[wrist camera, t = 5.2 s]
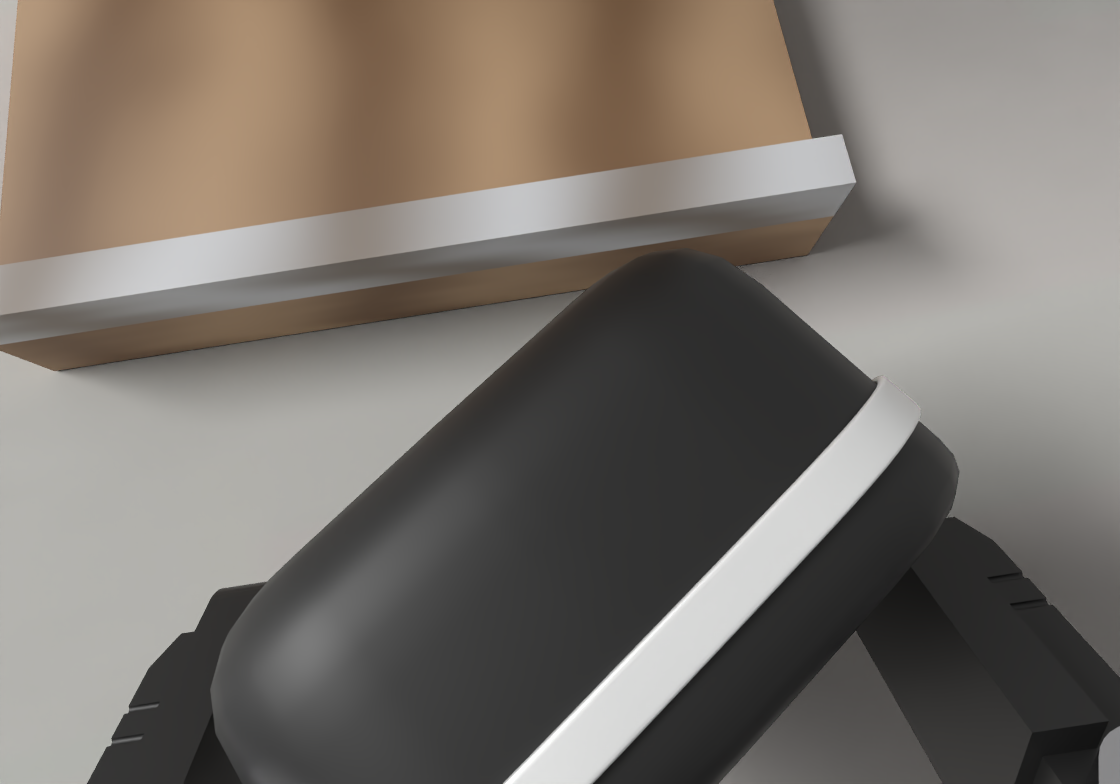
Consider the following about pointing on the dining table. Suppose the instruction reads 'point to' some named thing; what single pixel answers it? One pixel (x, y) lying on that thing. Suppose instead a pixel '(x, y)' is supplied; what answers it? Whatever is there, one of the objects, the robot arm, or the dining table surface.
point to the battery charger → (595, 555)
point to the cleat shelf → (381, 160)
